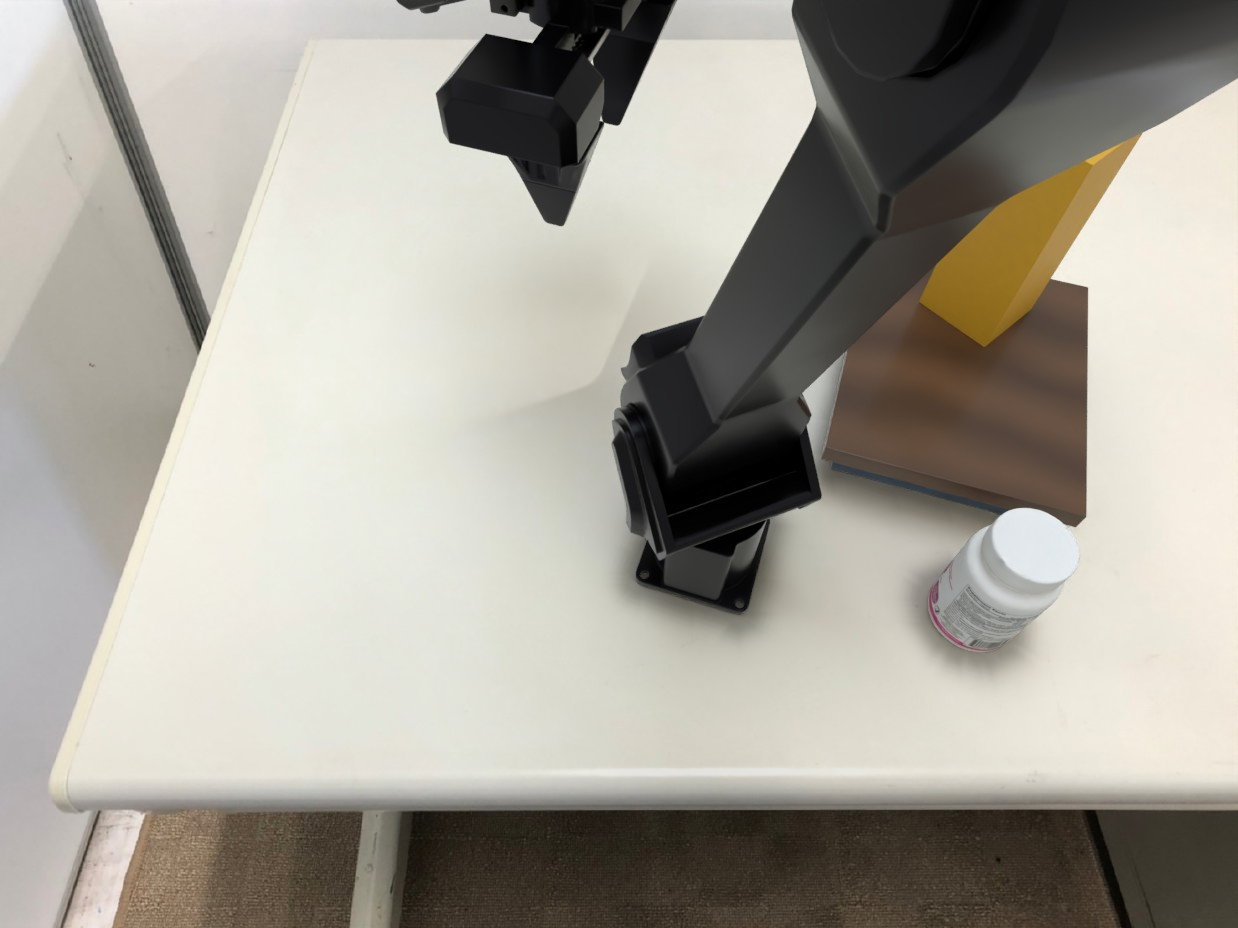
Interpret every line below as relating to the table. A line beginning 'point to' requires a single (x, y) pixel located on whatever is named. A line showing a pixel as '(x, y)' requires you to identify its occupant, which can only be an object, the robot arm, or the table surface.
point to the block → (1018, 248)
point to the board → (970, 407)
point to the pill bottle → (1003, 579)
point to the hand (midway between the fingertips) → (585, 170)
